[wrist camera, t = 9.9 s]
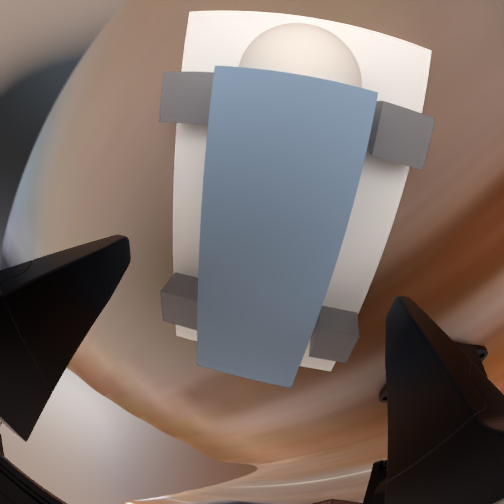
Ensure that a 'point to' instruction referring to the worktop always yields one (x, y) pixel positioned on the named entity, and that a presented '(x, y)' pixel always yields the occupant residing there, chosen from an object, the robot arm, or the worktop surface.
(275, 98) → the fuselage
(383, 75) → the cradle
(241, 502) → the worktop surface
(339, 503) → the letter holder
